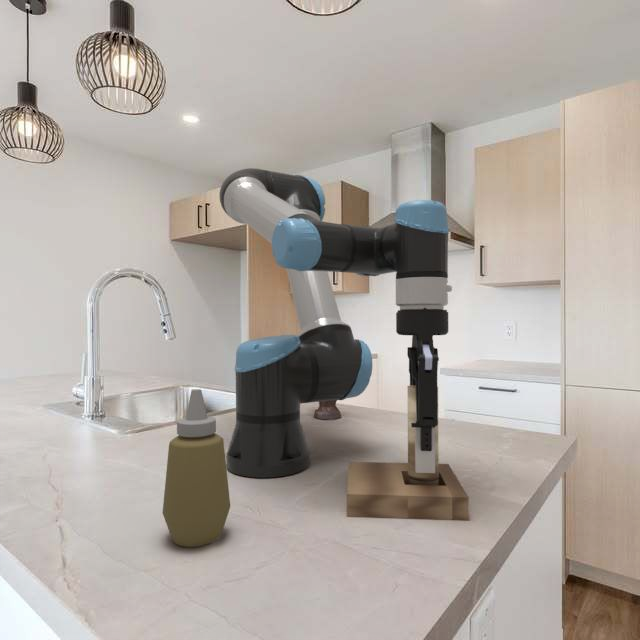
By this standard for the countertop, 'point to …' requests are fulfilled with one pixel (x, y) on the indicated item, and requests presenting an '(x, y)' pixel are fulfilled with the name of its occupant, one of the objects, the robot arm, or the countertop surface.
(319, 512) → the countertop surface
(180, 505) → the squeeze bottle
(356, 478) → the board
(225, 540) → the countertop surface
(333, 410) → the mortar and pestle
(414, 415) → the peg
